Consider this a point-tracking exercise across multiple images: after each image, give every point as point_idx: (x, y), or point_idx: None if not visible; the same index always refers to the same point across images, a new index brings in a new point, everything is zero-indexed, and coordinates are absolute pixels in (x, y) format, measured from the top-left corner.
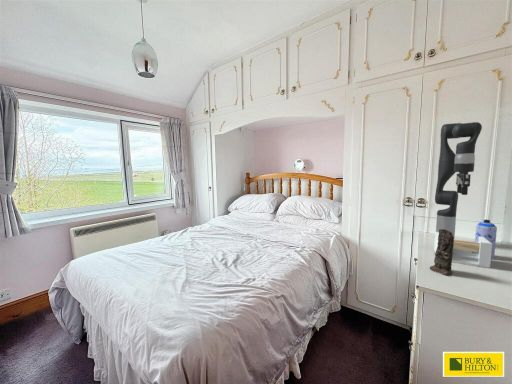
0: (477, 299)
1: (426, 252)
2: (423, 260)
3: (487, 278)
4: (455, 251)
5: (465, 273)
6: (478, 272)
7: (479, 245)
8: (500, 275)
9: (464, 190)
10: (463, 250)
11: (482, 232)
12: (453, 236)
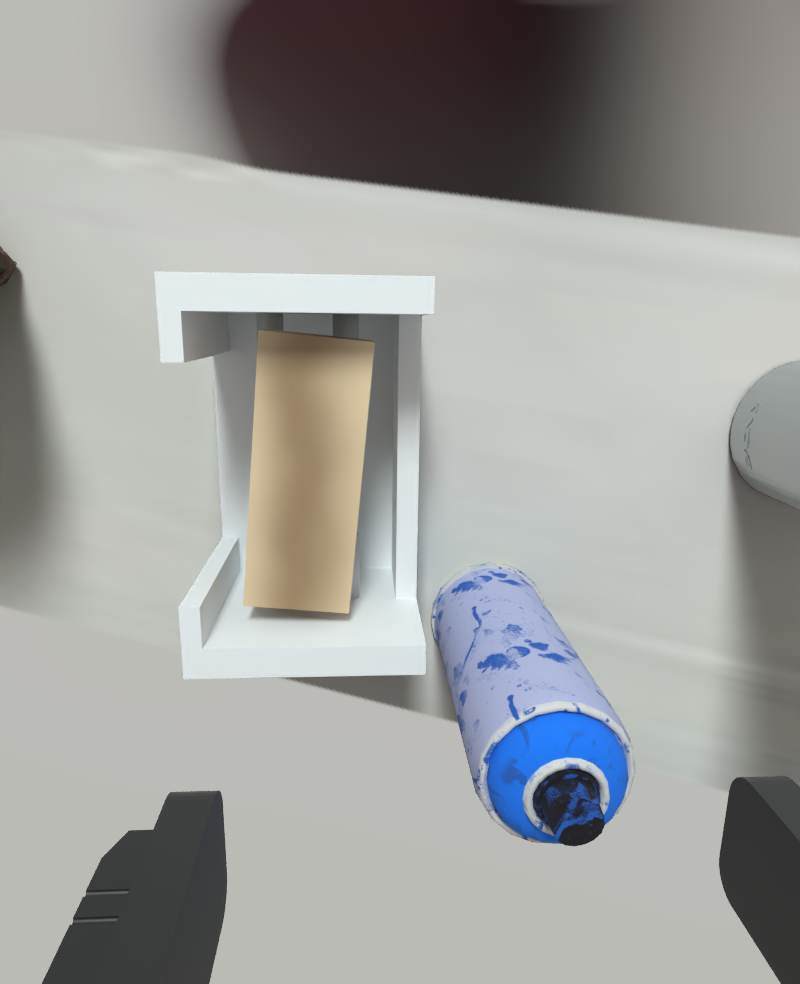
0: None
1: (382, 225)
2: (136, 169)
3: (8, 524)
4: (394, 439)
5: (18, 420)
6: (94, 502)
7: (244, 595)
8: (118, 607)
9: (74, 968)
10: (394, 495)
11: (477, 697)
12: (790, 502)
